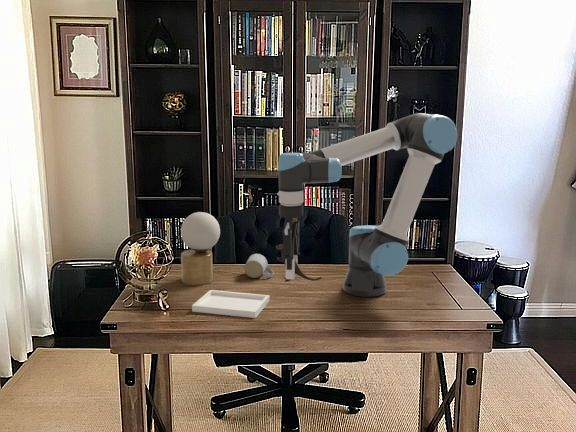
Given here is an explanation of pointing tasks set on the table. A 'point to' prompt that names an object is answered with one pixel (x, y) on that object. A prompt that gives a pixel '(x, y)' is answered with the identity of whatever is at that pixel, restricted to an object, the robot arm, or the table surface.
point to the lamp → (198, 248)
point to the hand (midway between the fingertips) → (291, 276)
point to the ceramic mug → (257, 266)
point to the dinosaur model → (297, 270)
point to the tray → (231, 303)
